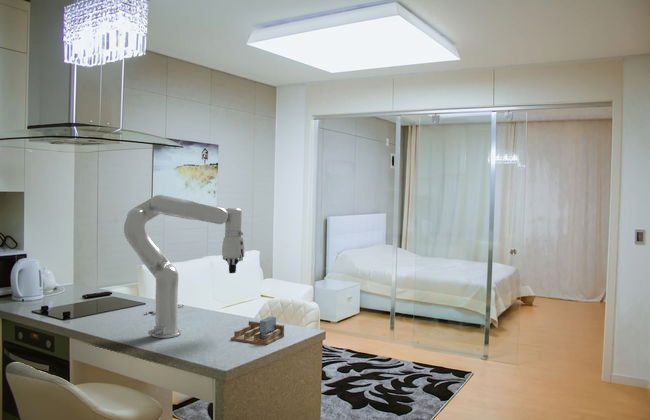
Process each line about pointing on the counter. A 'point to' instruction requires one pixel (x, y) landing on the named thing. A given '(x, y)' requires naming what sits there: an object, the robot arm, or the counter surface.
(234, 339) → the rack
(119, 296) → the counter surface
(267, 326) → the block
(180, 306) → the adjustable wrench
